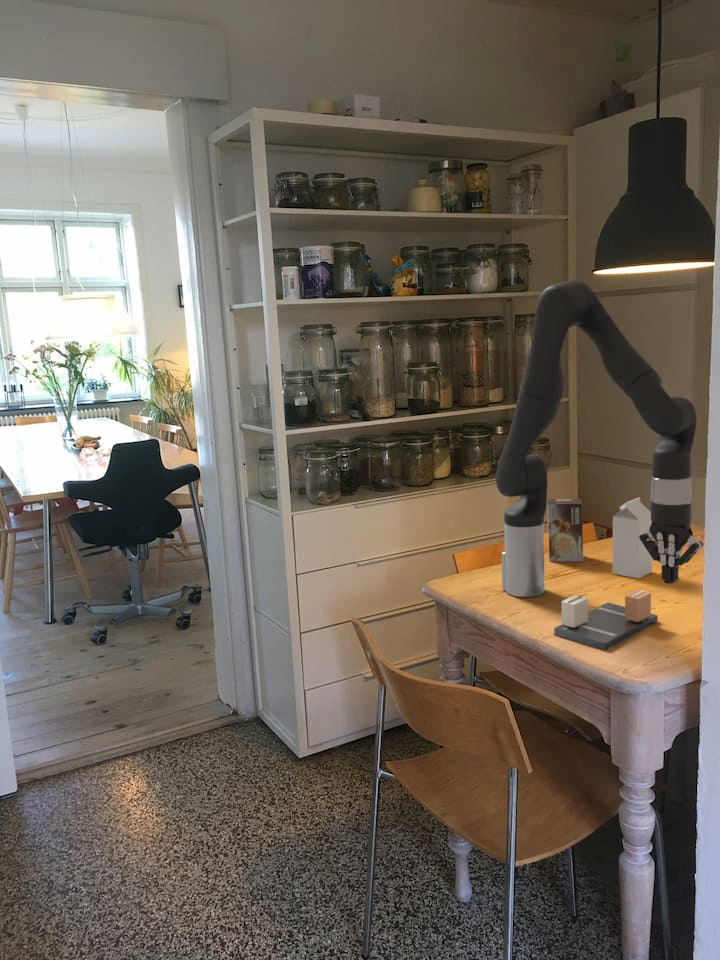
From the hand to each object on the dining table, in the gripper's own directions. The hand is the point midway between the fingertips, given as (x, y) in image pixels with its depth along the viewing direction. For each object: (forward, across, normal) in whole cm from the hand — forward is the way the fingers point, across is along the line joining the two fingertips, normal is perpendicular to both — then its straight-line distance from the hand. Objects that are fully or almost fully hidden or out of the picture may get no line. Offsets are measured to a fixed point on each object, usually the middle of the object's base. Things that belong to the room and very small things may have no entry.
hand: (670, 582), depth 161 cm
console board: (+11, -11, -5) cm, 17 cm away
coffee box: (+11, -46, +30) cm, 56 cm away
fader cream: (+9, -15, -11) cm, 21 cm away
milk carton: (+11, -26, +30) cm, 42 cm away
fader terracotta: (+9, -7, 0) cm, 12 cm away
